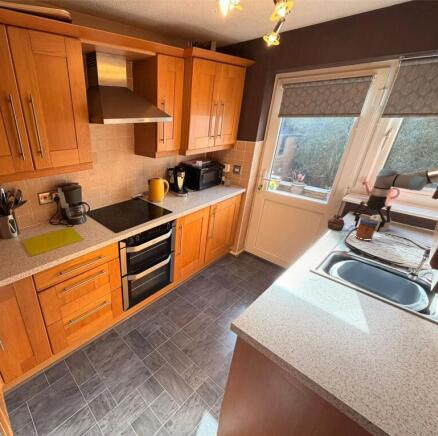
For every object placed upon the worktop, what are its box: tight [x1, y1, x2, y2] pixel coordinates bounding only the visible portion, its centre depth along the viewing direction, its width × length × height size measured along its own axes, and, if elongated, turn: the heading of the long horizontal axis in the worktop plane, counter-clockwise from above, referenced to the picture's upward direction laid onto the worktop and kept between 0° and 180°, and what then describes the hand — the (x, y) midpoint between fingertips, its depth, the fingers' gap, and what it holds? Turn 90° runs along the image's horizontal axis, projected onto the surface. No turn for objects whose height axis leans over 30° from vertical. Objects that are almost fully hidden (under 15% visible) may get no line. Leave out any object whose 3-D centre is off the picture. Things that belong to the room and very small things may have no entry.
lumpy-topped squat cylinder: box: [369, 214, 392, 232], centre depth 162 cm, size 10×13×9 cm
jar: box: [354, 222, 377, 242], centre depth 147 cm, size 8×8×12 cm
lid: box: [359, 217, 378, 226], centre depth 145 cm, size 8×8×2 cm
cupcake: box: [327, 214, 346, 232], centre depth 162 cm, size 10×10×10 cm
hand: (366, 228), depth 146 cm, fingers open, 10 cm apart
